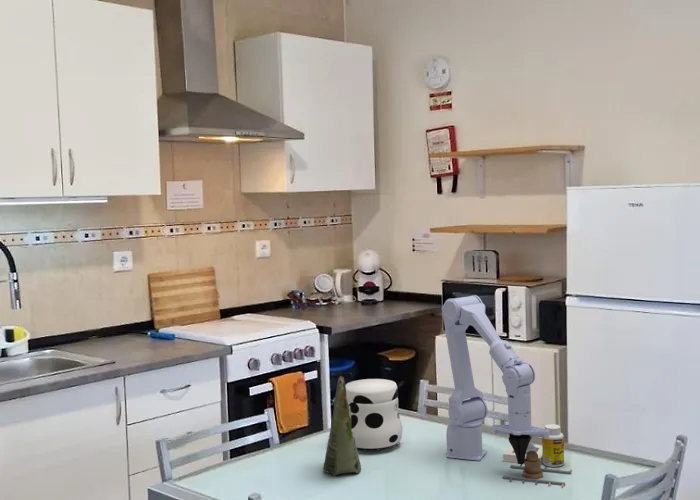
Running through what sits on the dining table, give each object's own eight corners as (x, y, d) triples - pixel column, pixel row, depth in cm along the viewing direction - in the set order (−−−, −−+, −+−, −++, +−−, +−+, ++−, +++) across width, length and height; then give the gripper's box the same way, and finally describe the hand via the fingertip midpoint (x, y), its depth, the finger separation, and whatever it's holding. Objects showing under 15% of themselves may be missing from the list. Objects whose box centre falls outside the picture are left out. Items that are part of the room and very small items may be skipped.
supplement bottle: (554, 469, 210) (553, 430, 209) (538, 463, 215) (537, 426, 214) (568, 464, 213) (567, 426, 212) (552, 459, 218) (551, 421, 217)
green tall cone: (343, 460, 224) (339, 371, 222) (374, 470, 216) (370, 377, 214) (313, 472, 216) (308, 379, 214) (344, 482, 208) (340, 386, 206)
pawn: (520, 477, 205) (519, 453, 205) (525, 471, 210) (524, 447, 209) (540, 479, 203) (539, 455, 203) (544, 473, 208) (543, 448, 207)
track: (500, 480, 204) (500, 478, 204) (512, 464, 215) (512, 462, 215) (563, 488, 197) (563, 486, 197) (572, 471, 208) (572, 469, 208)
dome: (514, 458, 219) (513, 442, 219) (518, 452, 224) (518, 436, 223) (533, 460, 217) (533, 444, 216) (537, 454, 221) (537, 438, 221)
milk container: (413, 441, 239) (411, 380, 237) (384, 458, 224) (381, 395, 223) (363, 433, 248) (360, 375, 247) (332, 450, 234) (329, 389, 232)
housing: (503, 461, 218) (503, 454, 218) (512, 449, 227) (512, 442, 227) (540, 465, 214) (540, 457, 213) (548, 453, 223) (548, 446, 222)
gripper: (487, 413, 206) (489, 465, 207) (544, 417, 200) (546, 471, 201) (494, 405, 212) (496, 456, 213) (550, 409, 206) (552, 462, 207)
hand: (521, 463), depth 207 cm, fingers closed
